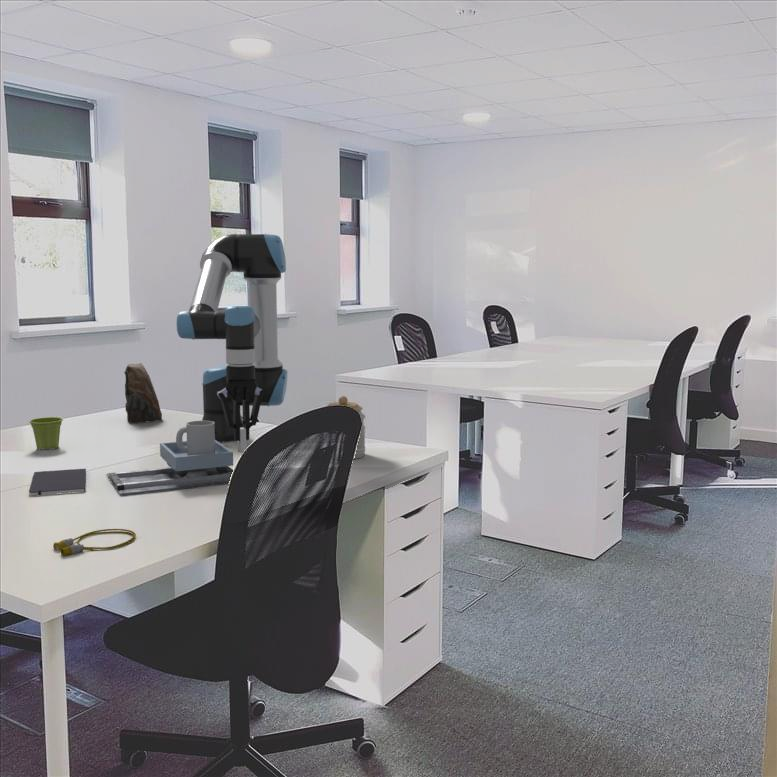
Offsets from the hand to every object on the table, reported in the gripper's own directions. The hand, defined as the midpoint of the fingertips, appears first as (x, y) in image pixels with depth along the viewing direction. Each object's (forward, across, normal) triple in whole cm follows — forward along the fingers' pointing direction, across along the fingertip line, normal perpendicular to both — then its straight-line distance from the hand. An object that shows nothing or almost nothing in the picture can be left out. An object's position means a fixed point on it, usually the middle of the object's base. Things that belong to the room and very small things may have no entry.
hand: (242, 452), depth 224 cm
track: (+5, +18, 0) cm, 19 cm away
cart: (+4, +13, 0) cm, 13 cm away
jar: (+6, -32, -7) cm, 34 cm away
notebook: (+6, +46, -8) cm, 47 cm away
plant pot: (+6, +44, -54) cm, 70 cm away
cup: (0, +12, 0) cm, 12 cm away
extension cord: (+6, +44, +44) cm, 62 cm away
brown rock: (+6, +9, -90) cm, 91 cm away
